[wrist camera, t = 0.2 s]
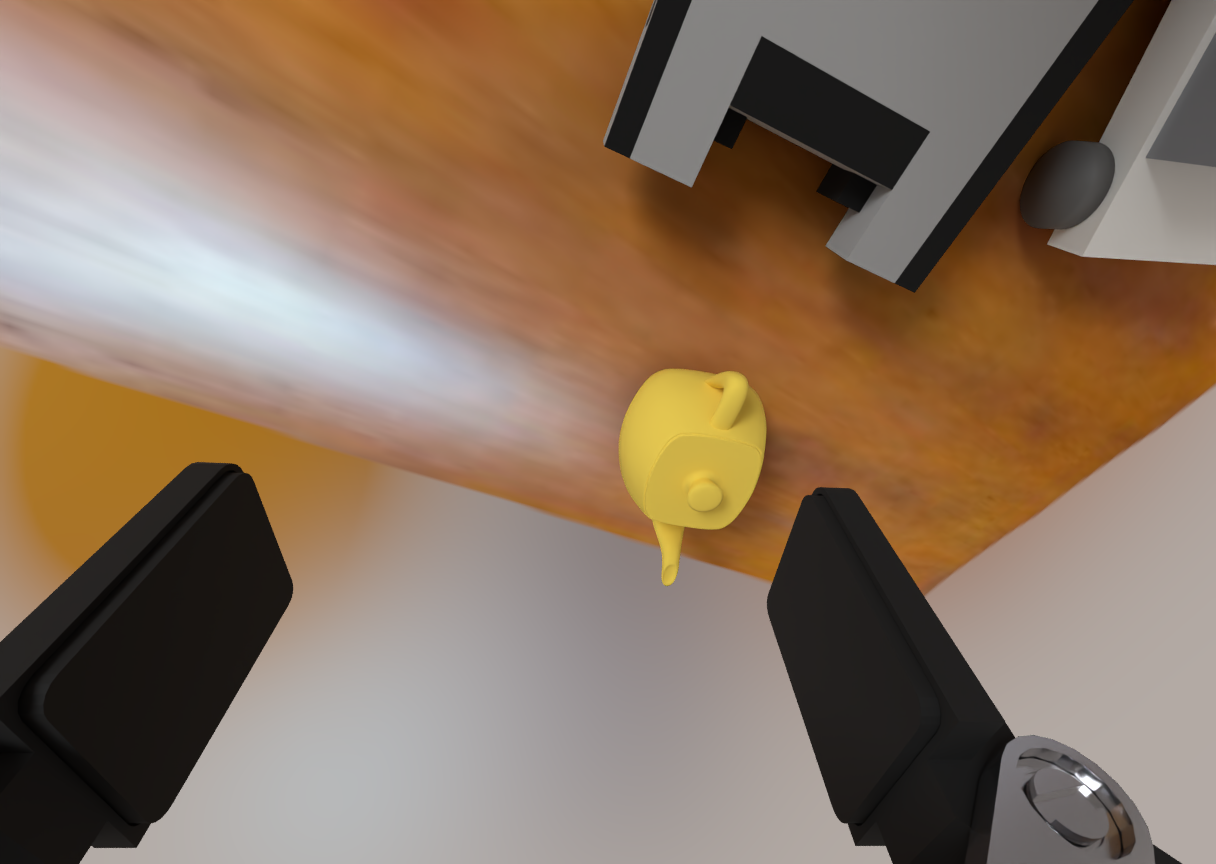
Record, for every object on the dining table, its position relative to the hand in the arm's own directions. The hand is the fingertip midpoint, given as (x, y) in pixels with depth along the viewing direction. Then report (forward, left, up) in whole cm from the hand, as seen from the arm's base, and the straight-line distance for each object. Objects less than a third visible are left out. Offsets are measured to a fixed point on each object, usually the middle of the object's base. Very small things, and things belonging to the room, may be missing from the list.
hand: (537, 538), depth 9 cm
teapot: (+17, +10, -31) cm, 37 cm away
